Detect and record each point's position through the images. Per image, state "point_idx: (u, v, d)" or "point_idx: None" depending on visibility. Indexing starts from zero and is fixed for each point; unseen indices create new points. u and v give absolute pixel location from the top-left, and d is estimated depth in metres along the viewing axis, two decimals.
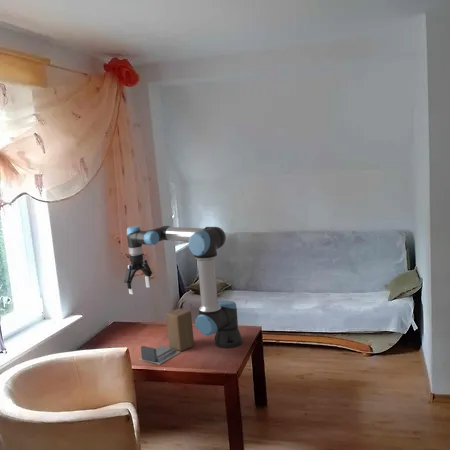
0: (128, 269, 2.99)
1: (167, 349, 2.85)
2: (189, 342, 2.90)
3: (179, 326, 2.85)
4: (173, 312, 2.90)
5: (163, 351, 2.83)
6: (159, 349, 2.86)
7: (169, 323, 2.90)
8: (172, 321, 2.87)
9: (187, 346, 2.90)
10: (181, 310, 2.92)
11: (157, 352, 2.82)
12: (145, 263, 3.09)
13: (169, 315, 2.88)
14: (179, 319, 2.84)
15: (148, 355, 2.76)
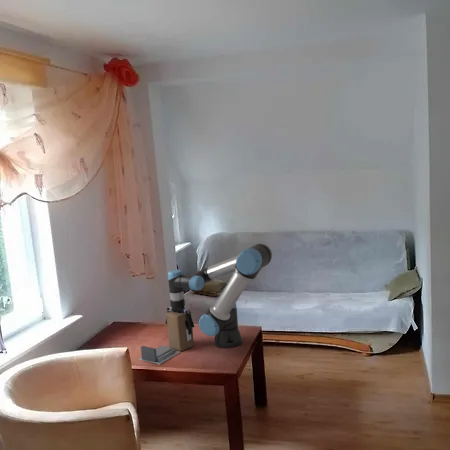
0: None
1: (167, 349, 2.85)
2: (189, 342, 2.90)
3: (179, 326, 2.85)
4: (173, 312, 2.90)
5: (163, 351, 2.83)
6: (159, 349, 2.86)
7: (169, 323, 2.90)
8: (172, 321, 2.87)
9: (187, 346, 2.90)
10: None
11: (157, 352, 2.82)
12: None
13: (169, 315, 2.88)
14: (179, 319, 2.84)
15: (148, 355, 2.76)
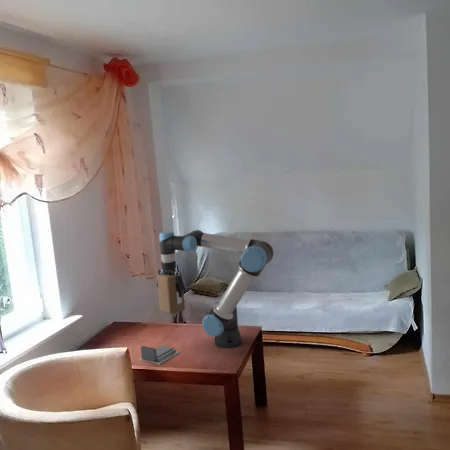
0: None
1: (167, 349, 2.85)
2: (179, 306, 2.85)
3: (169, 288, 2.80)
4: None
5: (163, 351, 2.83)
6: (159, 349, 2.86)
7: (159, 285, 2.85)
8: (162, 283, 2.82)
9: (177, 309, 2.85)
10: None
11: (157, 352, 2.82)
12: (175, 275, 2.81)
13: (160, 277, 2.83)
14: (169, 281, 2.79)
15: (148, 355, 2.76)
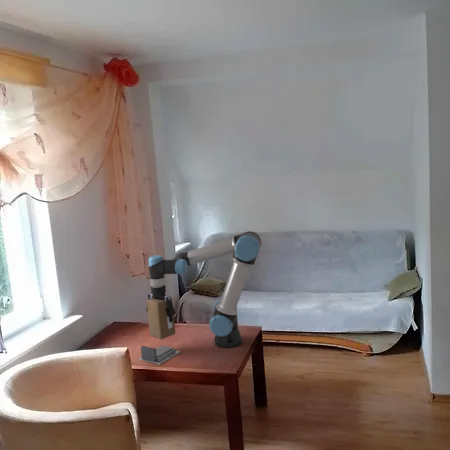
0: None
1: (167, 349, 2.85)
2: (170, 330, 2.82)
3: (160, 313, 2.77)
4: (154, 299, 2.81)
5: (163, 351, 2.83)
6: (159, 349, 2.86)
7: (149, 310, 2.81)
8: (152, 308, 2.79)
9: (168, 334, 2.81)
10: None
11: (157, 352, 2.82)
12: None
13: (149, 302, 2.80)
14: (159, 306, 2.76)
15: (148, 355, 2.76)
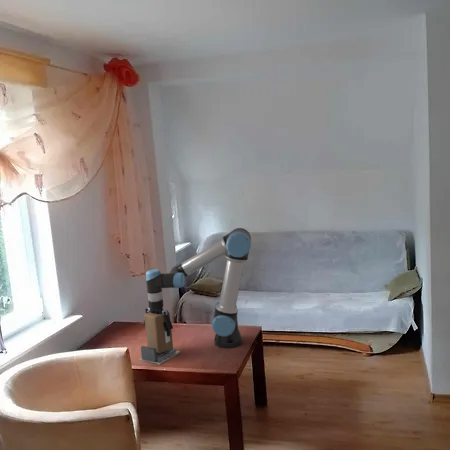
0: None
1: None
2: (167, 344, 2.81)
3: (157, 328, 2.75)
4: (151, 313, 2.80)
5: None
6: None
7: (147, 324, 2.80)
8: (150, 322, 2.78)
9: (166, 348, 2.80)
10: None
11: None
12: None
13: (147, 316, 2.79)
14: (157, 320, 2.75)
15: (148, 355, 2.76)
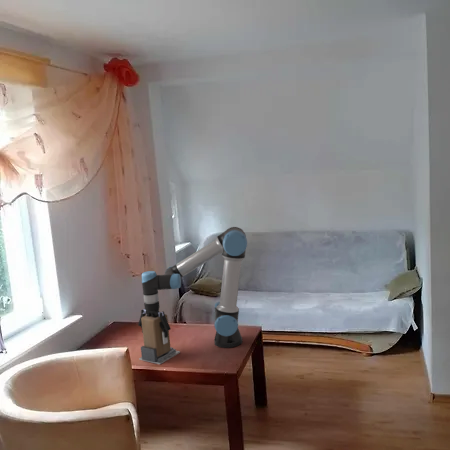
0: None
1: None
2: (165, 347, 2.79)
3: (156, 331, 2.74)
4: None
5: None
6: None
7: (144, 327, 2.78)
8: (148, 326, 2.75)
9: (164, 351, 2.79)
10: None
11: None
12: None
13: (144, 319, 2.76)
14: (155, 323, 2.73)
15: (148, 355, 2.76)
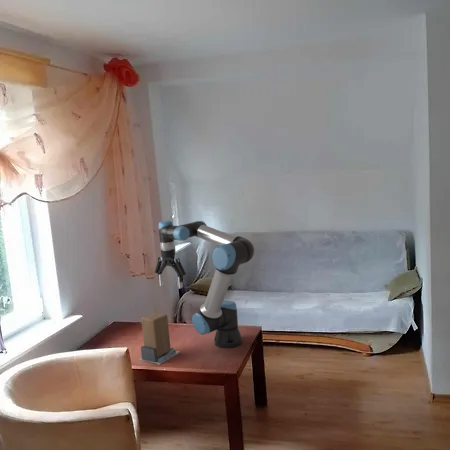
0: None
1: None
2: (165, 347, 2.79)
3: (156, 331, 2.74)
4: (148, 316, 2.78)
5: None
6: None
7: (144, 327, 2.78)
8: (148, 326, 2.75)
9: (164, 351, 2.79)
10: (157, 314, 2.80)
11: None
12: None
13: (144, 319, 2.76)
14: (155, 323, 2.73)
15: (148, 355, 2.76)
